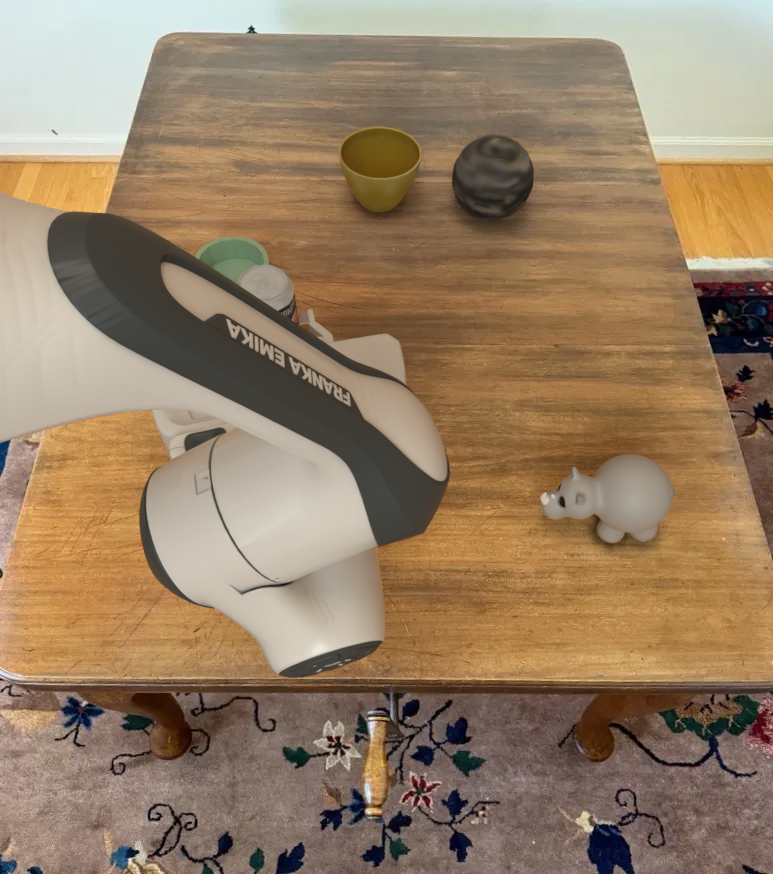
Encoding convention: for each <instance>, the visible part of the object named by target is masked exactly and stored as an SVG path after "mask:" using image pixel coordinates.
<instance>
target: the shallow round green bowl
mask: <svg viewBox="0 0 773 874" xmlns="http://www.w3.org/2000/svg"><path fill="white" fill-rule="evenodd" d="M194 257H196V258H197V259H199V260H201V261H202V262H204V263H205V264H207V265H209V266H210V267H212V268H213V269H215V270H216V271H218V272H219V273H221V274H223V275H224V276H226V277H227V278H229V279H230V280H232V281H233V282H235V283H236V284H237V282H238V280H239V278H240V276H241V274H242V272H244V271H246V270H248V269H250V268H251V267H253V266H255V265H271V264H270V257H269V253H268V251H267V250H266V249H265V248H264V246H263V245H262V244H261V243H260V242H258V241H256V240H254V239H252V238H250V237H248V236H239V235H229V236H222V237H218V238H215V239H213V240H211V241H209V242H207V243H205V244H204V245H202V247H201V248H200V249H199V250H197V251H196V254H195V255H194Z"/></svg>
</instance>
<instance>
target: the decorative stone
mask: <svg viewBox="0 0 773 874" xmlns="http://www.w3.org/2000/svg"><path fill="white" fill-rule="evenodd" d="M534 169H535V168H534V165H533V161H532V159H531V157H530V154H529V152H528V151H527V150H526V149H525V147H524V146H522V144H521V143H520V142H519V141H517V140H515V139H513V138H512V137H510V136H507V135H504V134H495V133H494V134H487V135H484V136H480V137H477V138H475V139H474V140H473V141H471V142H470V143H468V144H467V145H466V146H465V147H464V148H463V149H462V151H461V152H460V153H459V155H458V157H457V158H456V160H455V161H454V164H453V169H452V175H451V187H452V190H453V193H454V196H455V200H456V201H457V203H458V204H459V206H460V207H461V208H462V209H463V210H464V211H465V212H466V213H467V214H469V215H470V216H472V217H473V218H476V219H479V220H482V221H489V222H490V221H491V222H492V221H493V222H495V221H501V220H503V219H506V218H509V217H512V216H513V215H514V214H515V213H516V212H518V211H519V210H521V208H523V207H524V206H525V204H526V202H527V200H528V199H529V197H530V195H531V193H532V190H533V187H534V181H535V180H534V179H535V178H534V177H535V171H534Z"/></svg>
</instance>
